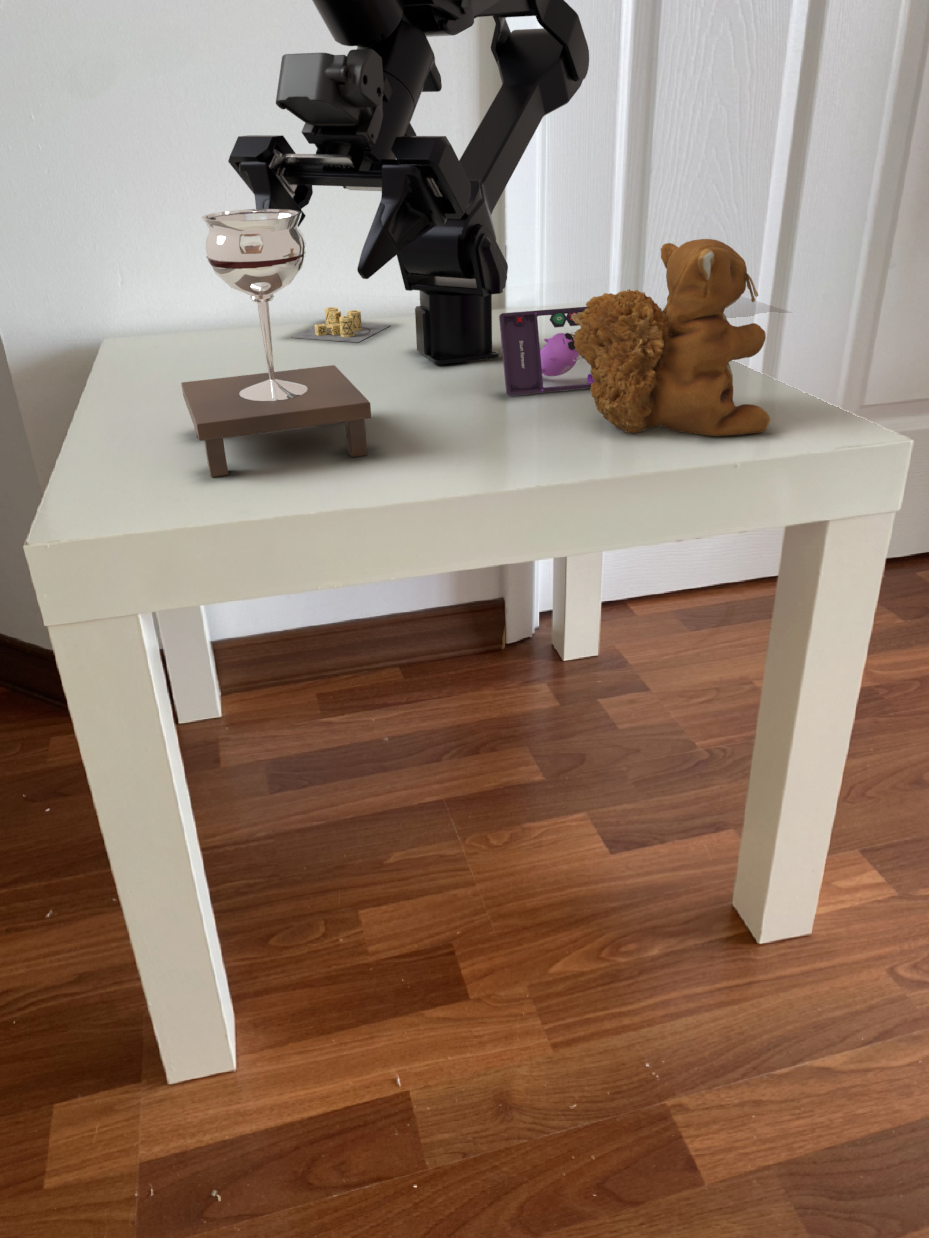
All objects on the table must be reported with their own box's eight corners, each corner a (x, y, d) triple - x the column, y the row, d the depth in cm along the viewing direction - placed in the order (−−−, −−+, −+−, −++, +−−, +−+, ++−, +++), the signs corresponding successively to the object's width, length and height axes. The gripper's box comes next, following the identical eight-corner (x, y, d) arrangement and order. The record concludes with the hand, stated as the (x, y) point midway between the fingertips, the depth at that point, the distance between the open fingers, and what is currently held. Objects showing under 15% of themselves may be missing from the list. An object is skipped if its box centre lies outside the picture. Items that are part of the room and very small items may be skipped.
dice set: (330, 324, 106) (328, 306, 106) (371, 327, 105) (370, 309, 104) (307, 335, 102) (305, 316, 101) (350, 338, 101) (348, 319, 100)
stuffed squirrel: (779, 433, 71) (806, 246, 65) (599, 451, 69) (608, 259, 62) (720, 396, 80) (739, 227, 73) (559, 410, 77) (563, 237, 71)
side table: (339, 413, 78) (334, 364, 76) (374, 456, 69) (370, 402, 67) (189, 432, 75) (180, 382, 73) (205, 480, 66) (196, 424, 64)
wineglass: (339, 389, 70) (323, 213, 64) (263, 411, 66) (238, 224, 60) (283, 373, 74) (263, 206, 68) (208, 393, 70) (180, 217, 64)
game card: (502, 312, 79) (604, 304, 81) (486, 321, 84) (583, 313, 86) (510, 395, 80) (610, 385, 82) (494, 399, 85) (589, 389, 87)
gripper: (225, 13, 70) (146, 193, 67) (446, -2, 63) (367, 201, 60) (301, 126, 80) (235, 288, 77) (500, 126, 72) (435, 305, 70)
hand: (310, 271), depth 71 cm, fingers open, 9 cm apart
